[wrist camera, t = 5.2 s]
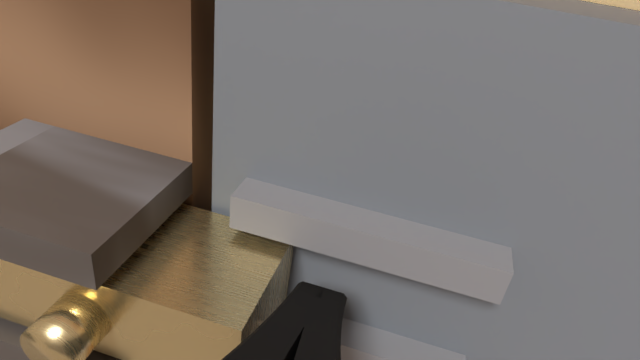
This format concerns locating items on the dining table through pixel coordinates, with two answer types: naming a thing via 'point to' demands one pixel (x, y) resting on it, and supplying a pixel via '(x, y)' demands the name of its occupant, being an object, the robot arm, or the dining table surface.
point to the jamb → (99, 132)
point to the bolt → (156, 296)
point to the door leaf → (441, 168)
